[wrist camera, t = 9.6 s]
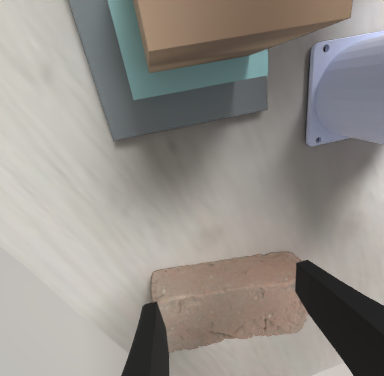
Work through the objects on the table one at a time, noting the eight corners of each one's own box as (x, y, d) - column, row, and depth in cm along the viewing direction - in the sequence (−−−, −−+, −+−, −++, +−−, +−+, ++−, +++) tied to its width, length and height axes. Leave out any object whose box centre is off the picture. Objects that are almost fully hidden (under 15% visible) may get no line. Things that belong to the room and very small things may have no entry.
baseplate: (255, -103, 13) (263, -117, 12) (261, 108, 18) (267, 109, 17) (46, -81, 12) (37, -95, 11) (115, 138, 17) (113, 140, 16)
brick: (155, 320, 26) (157, 364, 22) (149, 266, 23) (149, 306, 19) (282, 297, 29) (305, 332, 25) (293, 246, 25) (322, 277, 21)
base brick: (224, -51, 13) (265, -129, 8) (234, 80, 16) (268, 75, 11) (104, -36, 12) (78, -111, 8) (138, 98, 15) (133, 100, 11)
